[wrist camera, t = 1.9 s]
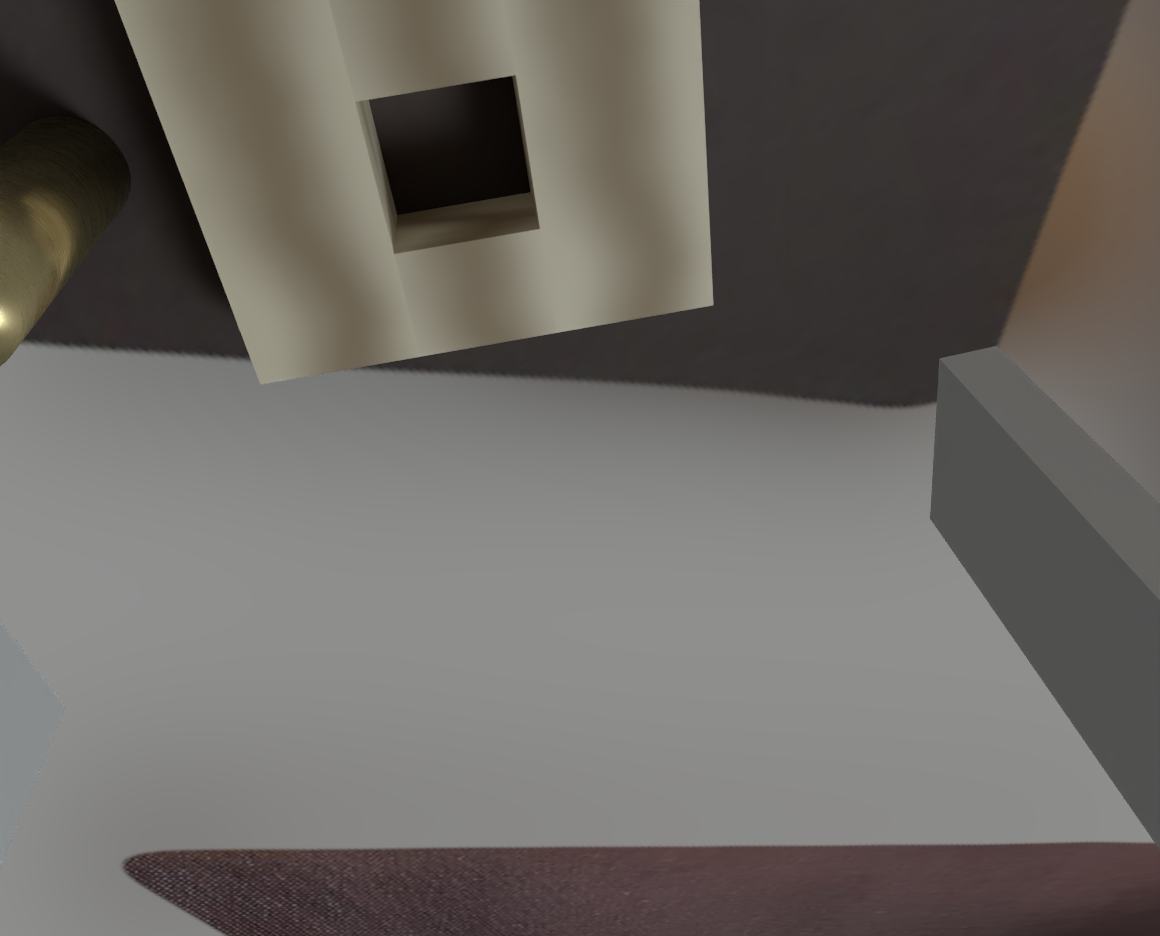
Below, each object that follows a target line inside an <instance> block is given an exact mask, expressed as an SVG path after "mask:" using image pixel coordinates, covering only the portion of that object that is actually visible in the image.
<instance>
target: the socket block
mask: <svg viewBox="0 0 1160 936" xmlns="http://www.w3.org/2000/svg"><path fill="white" fill-rule="evenodd" d="M114 1H115V3H116V6H117V8H118V11H119V14H120V16H121V19H122V22H123V24H124V27H125V29H126V32H127V35H128V37H129V40H130V43H131V45H132V48H133V50H134V53H135V56H136V58H137V61H138V64H139V66H140V69H141V72H142V74H143V77H144V79H145V82H146V85H147V87H148V90H149V93H150V95H151V98H152V100H153V103H154V106H155V108H156V111H157V114H158V116H159V119H160V122H161V124H162V127H163V129H164V132H165V135H166V137H167V140H168V143H169V145H170V148H171V150H172V153H173V156H174V158H175V161H176V164H177V166H178V169H179V171H180V174H181V177H182V179H183V182H184V185H185V187H186V190H187V193H188V195H189V198H190V200H191V203H192V206H193V208H194V211H195V214H196V216H197V219H198V221H199V224H200V227H201V229H202V232H203V235H204V237H205V240H206V243H207V245H208V248H209V250H210V253H211V256H212V258H213V261H214V264H215V266H216V269H217V271H218V274H219V277H220V279H221V282H222V285H223V287H224V290H225V292H226V295H227V298H228V300H229V303H230V306H231V308H232V311H233V314H234V316H235V319H236V321H237V324H238V327H239V329H240V332H241V335H242V337H243V340H244V342H245V345H246V348H247V350H248V353H249V356H250V358H251V361H252V363H253V366H254V369H255V371H256V374H257V377H258V379H259V382H260V384H267V383H272V382H278V381H284V380H290V379H295V378H300V377H307V376H312V375H318V374H324V373H329V372H335V371H341V370H347V369H352V368H358V367H364V366H369V365H375V364H381V363H387V362H392V361H398V360H404V359H409V358H415V357H421V356H427V355H432V354H438V353H444V352H449V351H455V350H461V349H466V348H472V347H478V346H484V345H489V344H495V343H501V342H506V341H512V340H518V339H524V338H529V337H535V336H541V335H546V334H552V333H558V332H563V331H569V330H575V329H581V328H586V327H592V326H598V325H603V324H609V323H615V322H621V321H626V320H632V319H638V318H643V317H649V316H655V315H660V314H666V313H672V312H678V311H683V310H689V309H695V308H700V307H706V306H712V305H713V288H712V267H711V245H710V224H709V202H708V180H707V159H706V137H705V116H704V94H703V73H702V51H701V29H700V8H699V0H114ZM508 76H512V80H513V86H514V92H515V98H516V105H517V111H518V117H519V123H520V130H521V136H522V142H523V148H524V155H525V161H526V167H527V173H528V180H529V186H530V192H529V193H523V194H517V195H511V196H505V197H499V198H494V199H488V200H482V201H476V202H470V203H464V204H458V205H452V206H447V207H441V208H435V209H429V210H423V211H417V212H411V213H405V214H400V215H397V212H396V208H395V204H394V200H393V196H392V192H391V188H390V184H389V180H388V176H387V172H386V168H385V164H384V160H383V156H382V152H381V148H380V144H379V140H378V136H377V132H376V128H375V124H374V120H373V116H372V112H371V108H370V104H369V99H375V98H381V97H387V96H393V95H399V94H405V93H411V92H417V91H423V90H429V89H435V88H441V87H447V86H453V85H459V84H465V83H471V82H477V81H483V80H489V79H495V78H501V77H508Z"/></svg>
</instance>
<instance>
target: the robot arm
mask: <svg viewBox="0 0 1160 936" xmlns="http://www.w3.org/2000/svg"><path fill="white" fill-rule="evenodd" d="M936 411H937V412H936V428H935V444H934V461H933V478H932V495H931V513H930V519H931V520H932V522H933V523H934V525H935V526H936V528H937V529H938V531H939V532H940V533H941V535H942V536H943V538H944V539H945V541H946V542H947V543H948V545H949V546H950V548H951V549H952V551H953V552H954V554H955V555H956V556H957V558H958V559H959V561H960V562H961V564H962V565H963V567H964V568H965V569H966V571H967V572H968V573H969V575H970V576H971V578H972V579H973V581H974V582H975V584H976V585H977V587H978V588H979V590H980V591H981V592H982V594H983V595H984V597H985V598H986V600H987V601H988V602H989V604H990V606H991V607H992V608H993V610H994V611H995V613H996V614H997V616H998V617H999V618H1000V620H1001V621H1002V623H1003V624H1004V626H1005V627H1006V629H1007V630H1008V631H1009V633H1010V634H1011V636H1012V637H1013V639H1014V640H1015V642H1016V643H1017V644H1018V646H1019V647H1020V649H1021V650H1022V652H1023V653H1024V655H1025V656H1026V657H1027V659H1028V660H1029V662H1030V663H1031V665H1032V666H1033V667H1034V669H1035V670H1036V672H1037V673H1038V675H1039V676H1040V677H1041V679H1042V680H1043V682H1044V683H1045V685H1046V686H1047V688H1048V689H1049V691H1050V692H1051V693H1052V695H1053V696H1054V698H1055V699H1056V701H1057V702H1058V704H1059V705H1060V706H1061V708H1062V709H1063V711H1064V712H1065V714H1066V715H1067V717H1068V718H1069V719H1070V721H1071V722H1072V724H1073V725H1074V727H1075V728H1076V729H1077V731H1078V732H1079V734H1080V735H1081V736H1082V738H1083V740H1084V741H1085V742H1086V744H1087V745H1088V747H1089V748H1090V750H1091V751H1092V752H1093V754H1094V755H1095V757H1096V758H1097V760H1098V761H1099V763H1100V764H1101V765H1102V767H1103V768H1104V770H1105V771H1106V773H1107V774H1108V775H1109V777H1110V779H1111V780H1112V781H1113V783H1114V784H1115V786H1116V787H1117V788H1118V790H1119V791H1120V793H1121V794H1122V796H1123V797H1124V799H1125V800H1126V802H1127V803H1128V804H1129V806H1130V807H1131V809H1132V810H1133V812H1134V813H1135V815H1136V816H1137V817H1138V819H1139V820H1140V822H1141V823H1142V825H1143V826H1144V827H1145V829H1146V830H1147V832H1148V833H1149V835H1150V836H1151V838H1152V839H1153V841H1154V842H1155V843H1156V845H1157V846H1158V848H1159V849H1160V503H1159V502H1157V501H1156V500H1155V499H1154V498H1153V497H1152V496H1151V495H1150V494H1149V493H1148V492H1147V491H1146V490H1145V489H1144V488H1143V487H1142V486H1141V485H1140V484H1139V483H1138V482H1137V481H1136V480H1135V479H1134V478H1133V477H1132V476H1131V475H1130V474H1128V473H1127V472H1126V471H1125V470H1124V469H1123V468H1122V467H1121V466H1120V465H1119V464H1118V463H1117V462H1116V461H1115V460H1114V459H1113V458H1112V457H1111V456H1110V455H1109V454H1108V453H1107V452H1105V450H1103V448H1102V447H1100V446H1099V445H1098V444H1097V443H1096V442H1095V441H1094V440H1093V439H1092V438H1091V437H1090V436H1089V435H1088V434H1087V433H1086V432H1085V431H1084V430H1083V429H1082V428H1081V427H1080V426H1079V425H1078V424H1076V423H1075V421H1074V420H1073V419H1071V418H1070V417H1069V416H1068V415H1067V414H1066V413H1065V412H1064V411H1063V410H1062V409H1061V408H1060V407H1059V406H1058V405H1057V404H1056V403H1055V402H1054V401H1053V400H1052V399H1051V398H1050V397H1049V396H1048V395H1047V394H1046V393H1044V392H1043V391H1042V390H1041V389H1040V388H1039V387H1038V386H1037V385H1036V384H1035V383H1034V382H1033V381H1032V380H1031V379H1030V378H1029V377H1028V376H1027V375H1026V374H1025V373H1024V372H1023V371H1022V370H1021V369H1020V368H1019V367H1018V366H1017V365H1015V364H1014V363H1013V362H1012V361H1011V360H1010V359H1009V358H1008V357H1007V356H1006V355H1005V354H1004V353H1003V352H1002V351H1001V350H1000V349H999V348H998V347H997V346H995V347H990V348H986V349H981V350H977V351H972V352H967V353H963V354H958V355H954V356H949V357H944V358H940V359H939V376H938V393H937V410H936ZM64 710H65V705H64V704H63V702H62V701H61V700H60V698H59V697H58V696H57V695H56V693H55V692H54V691H53V689H52V688H51V687H50V685H49V684H48V683H47V682H46V680H45V679H44V677H43V676H42V675H41V674H40V672H39V671H38V670H37V668H36V667H35V666H34V664H33V663H32V662H31V660H30V659H29V658H28V657H27V655H26V654H25V653H24V651H23V650H22V649H21V647H20V646H19V645H18V643H17V642H16V641H15V639H14V638H13V637H12V635H11V634H10V633H9V632H8V630H7V629H6V628H5V626H4V625H3V624H2V622H1V621H0V866H1V864H2V861H3V859H4V856H5V854H6V851H7V849H8V847H9V844H10V842H11V839H12V837H13V834H14V832H15V830H16V827H17V825H18V822H19V820H20V817H21V815H22V812H23V810H24V807H25V805H26V802H27V800H28V798H29V795H30V793H31V790H32V788H33V785H34V783H35V780H36V778H37V776H38V773H39V771H40V768H41V766H42V763H43V761H44V759H45V756H46V754H47V751H48V749H49V746H50V744H51V741H52V739H53V736H54V734H55V732H56V729H57V727H58V724H59V722H60V719H61V717H62V715H63V712H64Z"/></svg>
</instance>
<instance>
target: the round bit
mask: <svg viewBox="0 0 1160 936" xmlns="http://www.w3.org/2000/svg"><path fill="white" fill-rule="evenodd" d="M130 186H131V178H130V171H129V167H128V165H127V162H126V160H125V157H124V155H123V154H122V152H121V151H120V149H119V148H118V146H117V145H116V144H115V143H114V141H113V140H112V139H111V138H110V137H109V136H108V135H106V134H105V133H104V132H103V131H101V130H100V129H98V128H97V127H95V126H94V125H92V124H90V123H88V122H86V121H83V120H81V119H78V118H74V117H70V116H63V115H53V116H46V117H42V118H39V119H37V120H34V121H33V122H31V123H29V124H28V125H27V126H26V127H24V128H23V129H22V130H21V131H20V132H18V133H17V134H16V135H15V136H13V137H12V138H11V139H10V140H8V141H7V142H6V143H5V144H4V145H2V146H1V147H0V366H1V365H2V364H4V363H5V362H6V361H7V360H8V359H9V358H10V356H11V355H12V354H13V352H14V351H15V350H16V348H17V347H18V346H19V344H20V343H21V342H22V340H23V339H24V338H25V336H26V335H27V334H28V332H29V331H30V330H31V328H32V327H33V326H34V324H35V323H36V322H37V320H38V319H39V318H40V316H41V315H42V314H43V312H44V311H45V310H46V308H47V307H48V306H49V304H50V303H51V302H52V300H53V299H54V298H55V296H56V295H57V294H58V292H59V291H60V290H61V288H62V287H63V286H64V284H65V283H66V282H67V280H68V279H69V278H70V276H71V275H72V274H73V272H74V271H75V270H76V268H77V267H78V266H79V264H80V263H81V262H82V260H83V259H84V258H85V256H86V255H87V254H88V252H89V251H90V250H91V248H92V247H93V246H94V244H95V243H96V242H97V240H98V239H99V238H100V236H101V235H102V234H103V232H104V231H105V230H106V228H107V227H108V226H109V224H110V223H111V222H112V220H113V219H114V218H115V216H116V215H117V214H118V212H119V211H120V210H121V208H122V207H123V205H124V204H125V202H126V201H127V198H128V196H129V192H130Z"/></svg>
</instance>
